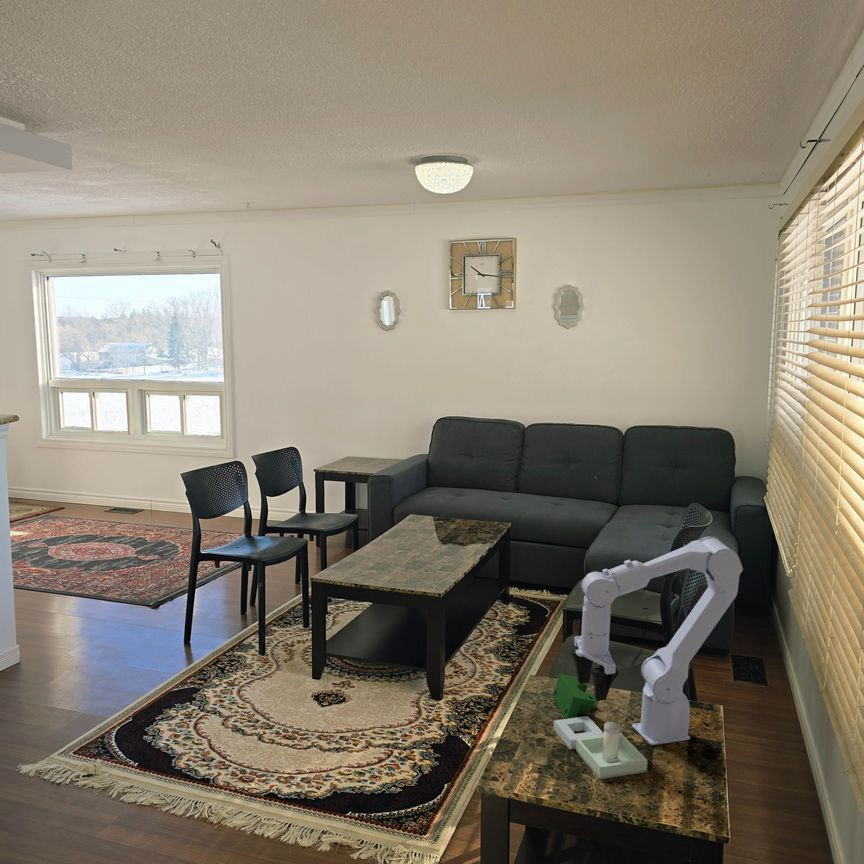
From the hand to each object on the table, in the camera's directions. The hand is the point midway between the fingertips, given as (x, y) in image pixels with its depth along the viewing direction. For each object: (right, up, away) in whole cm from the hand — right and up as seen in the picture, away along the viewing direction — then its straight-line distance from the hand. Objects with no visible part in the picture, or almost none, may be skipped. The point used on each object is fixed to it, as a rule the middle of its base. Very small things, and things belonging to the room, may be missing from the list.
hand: (592, 691), depth 164 cm
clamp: (-2, -8, +11) cm, 14 cm away
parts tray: (+2, -11, -9) cm, 14 cm away
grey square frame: (-3, -10, 0) cm, 10 cm away
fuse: (+2, -10, -9) cm, 14 cm away
